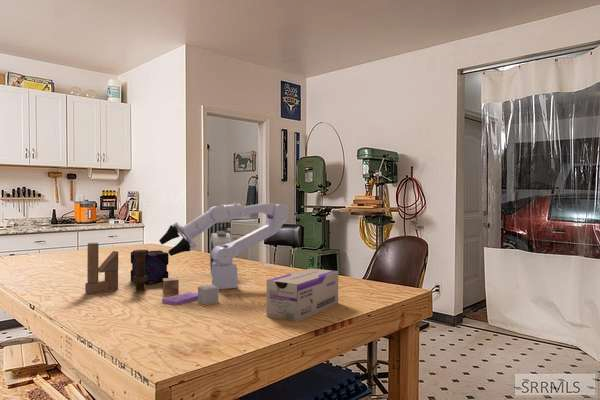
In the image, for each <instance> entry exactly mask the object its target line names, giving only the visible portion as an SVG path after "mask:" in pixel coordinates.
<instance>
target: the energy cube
mask: <svg viewBox="0 0 600 400" xmlns="http://www.w3.org/2000/svg"><path fill="white" fill-rule="evenodd" d="M148 251H149V254H147V255H145V275H146V276H147V277H148V280H147V281H146V282H145V286H149V285H150V284H157V285H158V284H163V278H169V271H168V265H169V256H170V254H169V253H168V252H166V251H163V250H161V249H160V250H157V249H156V250H148ZM130 264H131V270H130V282H131V281H132V282H131V283H133V282H134V281H133V277H134V276H136V255H132V251H130ZM134 285H136V282H135V283H134Z"/></svg>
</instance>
